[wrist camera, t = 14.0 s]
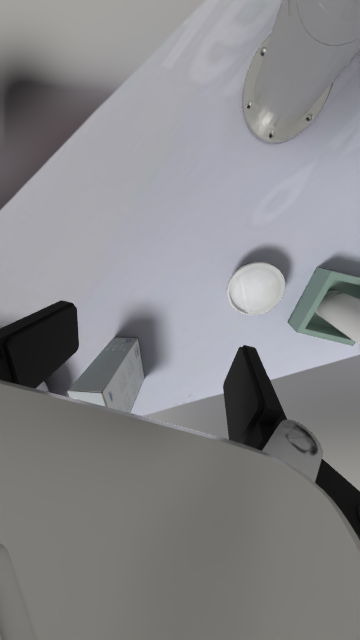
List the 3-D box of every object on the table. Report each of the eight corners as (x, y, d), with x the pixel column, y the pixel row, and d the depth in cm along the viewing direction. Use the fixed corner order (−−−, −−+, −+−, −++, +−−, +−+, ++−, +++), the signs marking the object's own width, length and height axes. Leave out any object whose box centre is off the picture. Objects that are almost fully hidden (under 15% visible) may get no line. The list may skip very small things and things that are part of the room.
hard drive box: (113, 336, 53) (65, 389, 35) (138, 337, 52) (103, 391, 34) (122, 377, 59) (87, 439, 42) (145, 379, 58) (119, 443, 41)
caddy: (316, 267, 38) (331, 271, 34) (375, 280, 38) (398, 286, 34) (287, 322, 44) (296, 332, 40) (337, 334, 44) (352, 345, 40)
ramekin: (214, 287, 43) (216, 293, 38) (251, 247, 38) (258, 249, 34) (248, 315, 45) (253, 325, 40) (287, 281, 40) (298, 287, 36)
